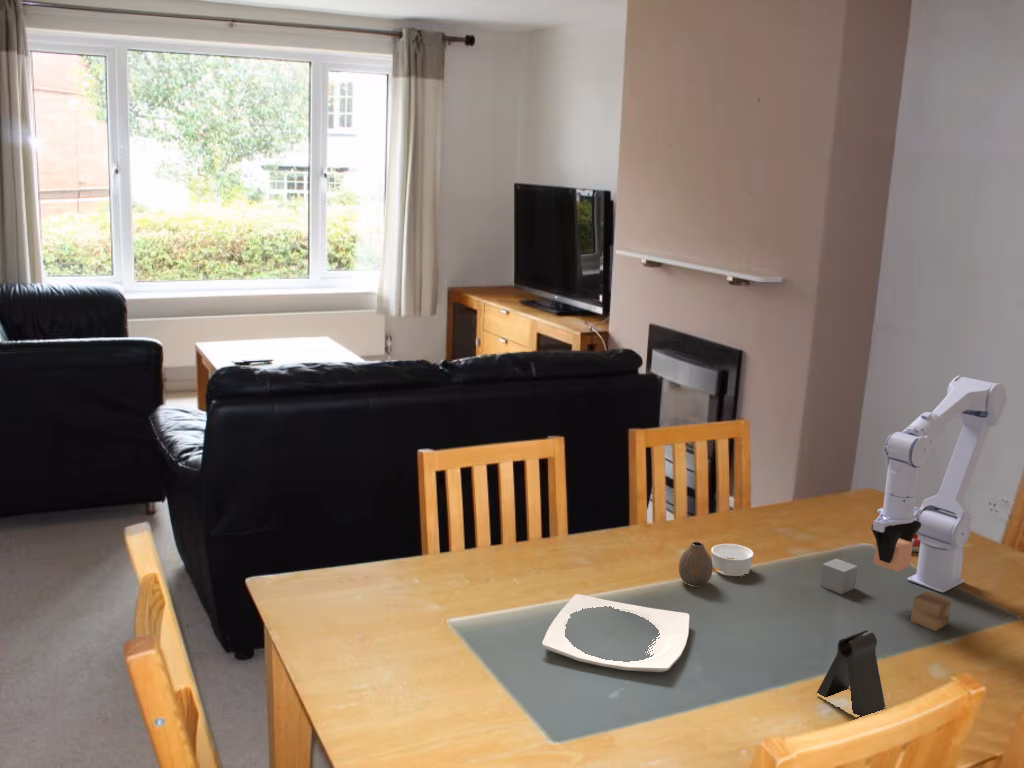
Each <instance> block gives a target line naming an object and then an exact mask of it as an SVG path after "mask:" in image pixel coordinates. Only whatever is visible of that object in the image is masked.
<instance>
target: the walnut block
mask: <svg viewBox="0 0 1024 768" xmlns="http://www.w3.org/2000/svg"><path fill="white" fill-rule="evenodd" d="M951 606H952V599H949V598H946V597H943V596H941V595H938V594H936V593H933V592H929V591H924V592H922V593H920V594H918V595H916V596H915V597H913V599H912V607H911V615H910V616H911V617H910V622H911V623H913V624H916V625H919V626H921V627H924V628H925V629H929V630H932V631H933V632H936V631H938V630H940V629H942V628H943V627H946V626H947V625H949V621H950V615H951Z"/></svg>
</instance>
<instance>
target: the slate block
mask: <svg viewBox="0 0 1024 768" xmlns="http://www.w3.org/2000/svg"><path fill="white" fill-rule="evenodd" d="M821 567H822V568H821V575H820V576H821V577H820V584H819V585H820V587H822V588H824V589H827V590H829V591H832V592H834V593H837V594H839V595H843V594H845V593H848V592H850V591H852V590H855V588H856V582H857V573H858V565H855V564H853V563H850V562H847V561H844V560H842V559H839V558H834V559H832V560H830V561H829V560H828V561H826V562H824V563H822V565H821Z"/></svg>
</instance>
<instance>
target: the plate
mask: <svg viewBox="0 0 1024 768" xmlns="http://www.w3.org/2000/svg"><path fill="white" fill-rule="evenodd" d="M604 606H607V607H609V606H611V607H612V608H613V607H614V609H619V610H620V611H625V612H630V613H633V614H636V615H638V616H640V617H643V618H645V619H646V620H649V622H651V623H652V624H653V625H655V627H656V628H657V629H658V630H659V633H660V635H659V636H658V637H656V638H657V639H656V641H654V642H653V643H652V644H654V643H655V642H656V643H655V644H654V645H652V644H651V645H652V646H651V647H649V646H650V645H649V646H648V647H649V649H650V650H649V649H648V651H649V653H650V656H651V655H653V654H654V655H653V656H652V657H649V658H646V659H644V660H639V661H630V662H623V661H613V660H605V659H601V658H598V657H595V656H591V655H588V654H585V653H584V652H582V651H581V650H579V649H577V648H576V647H574V646H573V645H572V644H571V642H569V640H568V639H567V638H566V637H565V629H566V626H565V625H566V624H567V622H568V619H569V618H571V617H570V614H572V613H574V612H576V611H577V612H578V611H580V610H582V608H583V609H585V608H586V609H587V608H592V607H593V608H596V607H604ZM689 630H690V614H689V613H687V612H682V611H681V612H680V611H672V610H667V609H666V610H665V609H661V608H659V609H658V608H654V607H648V606H646V607H645V606H641V605H635V604H628V603H623V602H618V601H613V600H608V599H604V598H603V599H602V598H598V597H593V596H589V595H584V594H579V593H577V594H574V595H573V596H572V598H570V599H569V601H568V602H567V603H566V604H565V605H564V606H563V608H562V609H561V610H560V611H559V613H558V614H557V615H556V616H555V618H554V619H553V621H552V622H551V623H550V625H549V627H548V629H547V631H546V633H545V635H544V637H543V640H542V643H541V645H542V647H544V648H545V649H546V650H548V651H551V652H553V653H556V654H558V655H561V656H564V657H566V658H570V659H572V660H575V661H577V662H583V663H585V664H590V665H596V666H601V667H606V668H612V669H616V670H621V671H630V672H631V671H633V672H634V671H635V672H647V673H648V672H653V673H663V672H664V673H665V672H666V671H669V670H670V669H671V668H672V666H674V664H676V662H677V661H678V660H679V659H680V658H681V656H682V655H683V652H684V651H685V648H686V645H687V642H688V640H689V639H688V638H689ZM659 633H658V634H659ZM659 637H660V638H659ZM658 638H659V639H658ZM653 640H654V639H653ZM653 640H652V641H653ZM652 647H653V648H652ZM651 648H652V649H651ZM652 650H653V651H652ZM648 651H647V653H648ZM650 651H651V652H650ZM645 653H646V652H645ZM649 653H648V654H649ZM646 655H647V654H646Z"/></svg>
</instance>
